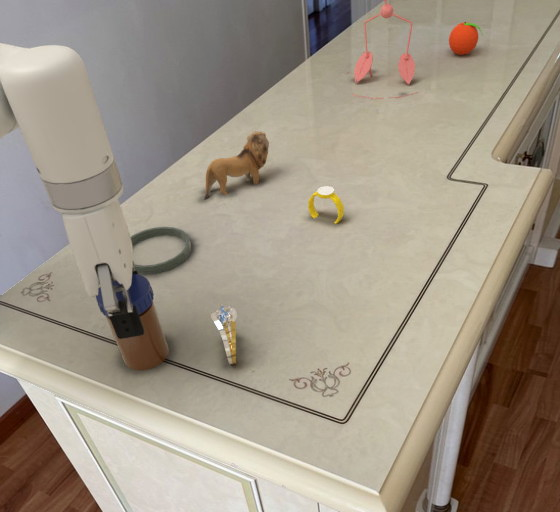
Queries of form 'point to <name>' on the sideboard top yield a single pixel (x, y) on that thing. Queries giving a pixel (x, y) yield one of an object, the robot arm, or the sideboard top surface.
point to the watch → (326, 193)
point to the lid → (133, 294)
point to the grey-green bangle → (169, 263)
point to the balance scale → (365, 61)
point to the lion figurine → (239, 163)
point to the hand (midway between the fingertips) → (132, 315)
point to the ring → (227, 330)
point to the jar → (144, 343)
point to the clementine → (463, 38)
